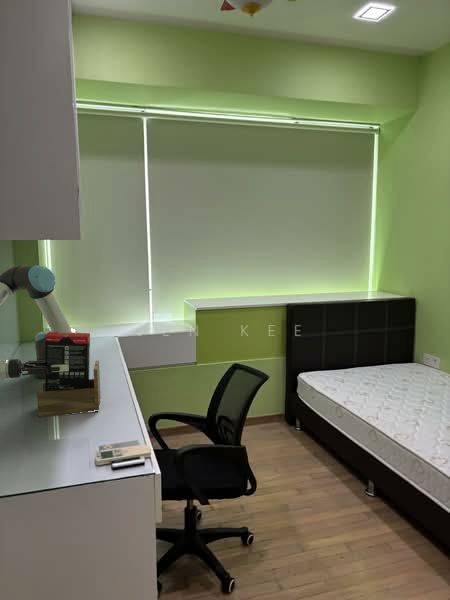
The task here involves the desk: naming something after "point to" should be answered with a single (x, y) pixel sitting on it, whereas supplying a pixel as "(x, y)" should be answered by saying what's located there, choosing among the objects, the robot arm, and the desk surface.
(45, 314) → the robot arm
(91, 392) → the walnut shelf slot
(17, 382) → the desk surface
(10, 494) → the desk surface
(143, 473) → the desk surface
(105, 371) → the desk surface
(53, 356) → the graphics card box
